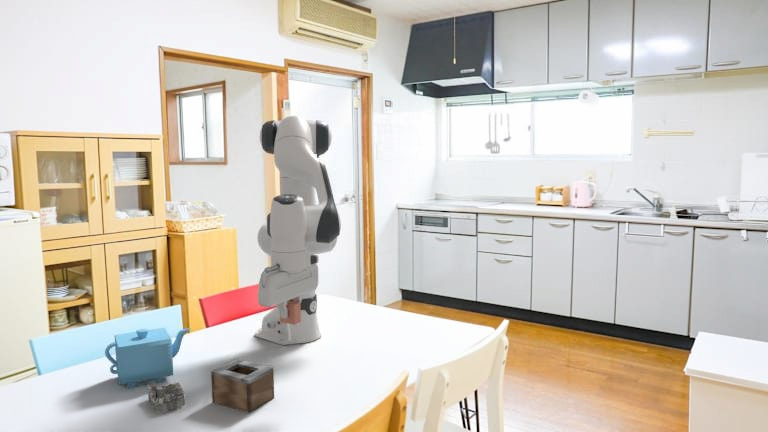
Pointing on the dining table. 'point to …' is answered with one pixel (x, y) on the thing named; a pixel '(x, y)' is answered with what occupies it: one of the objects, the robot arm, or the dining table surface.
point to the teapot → (144, 355)
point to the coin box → (242, 385)
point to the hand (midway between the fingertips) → (290, 315)
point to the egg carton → (167, 397)
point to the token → (293, 313)
